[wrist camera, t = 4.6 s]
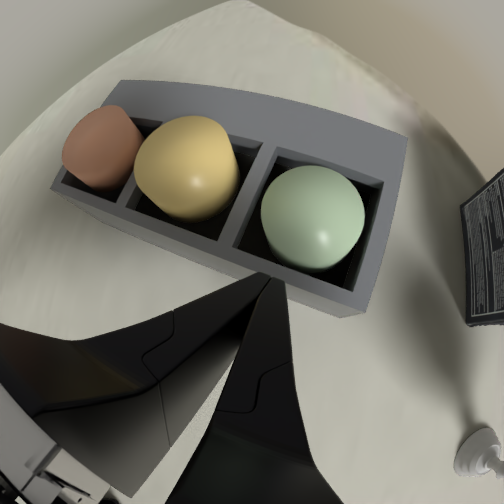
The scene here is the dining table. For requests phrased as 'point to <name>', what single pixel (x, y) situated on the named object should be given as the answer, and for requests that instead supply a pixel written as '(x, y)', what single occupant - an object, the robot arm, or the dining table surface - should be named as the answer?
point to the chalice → (480, 455)
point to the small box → (485, 253)
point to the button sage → (311, 218)
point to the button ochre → (188, 169)
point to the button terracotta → (103, 148)
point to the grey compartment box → (259, 180)
